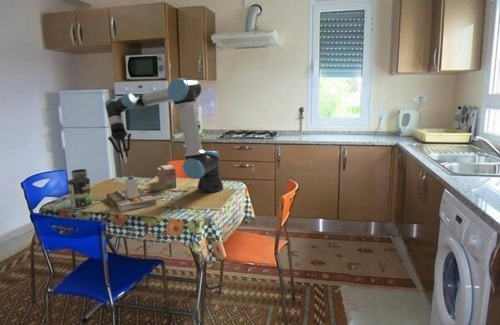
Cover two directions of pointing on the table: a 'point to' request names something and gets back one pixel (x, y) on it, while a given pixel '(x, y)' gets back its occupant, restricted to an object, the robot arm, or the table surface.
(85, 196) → the coffee can
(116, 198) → the wooden tray
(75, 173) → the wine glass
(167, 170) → the printed cardboard box
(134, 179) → the pale grey bottle
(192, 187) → the table surface
